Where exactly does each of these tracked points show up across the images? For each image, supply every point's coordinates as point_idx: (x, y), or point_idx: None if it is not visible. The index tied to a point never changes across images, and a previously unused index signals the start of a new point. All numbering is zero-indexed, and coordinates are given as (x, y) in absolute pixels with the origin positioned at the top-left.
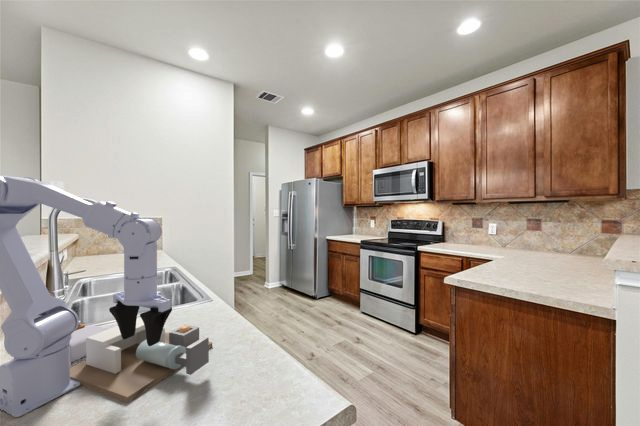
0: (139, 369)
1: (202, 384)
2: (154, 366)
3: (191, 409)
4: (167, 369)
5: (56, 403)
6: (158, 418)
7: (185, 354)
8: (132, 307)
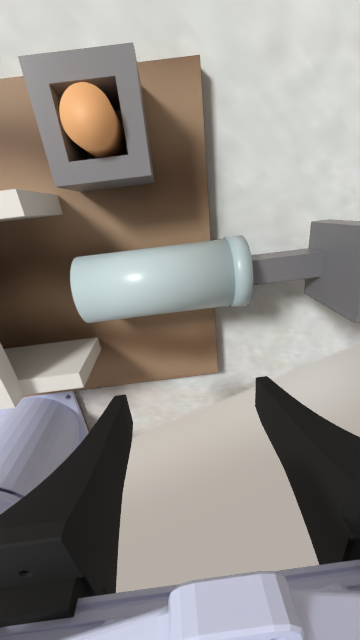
0: None
1: None
2: None
3: (352, 323)
4: None
5: None
6: (307, 360)
7: (268, 263)
8: (91, 537)
